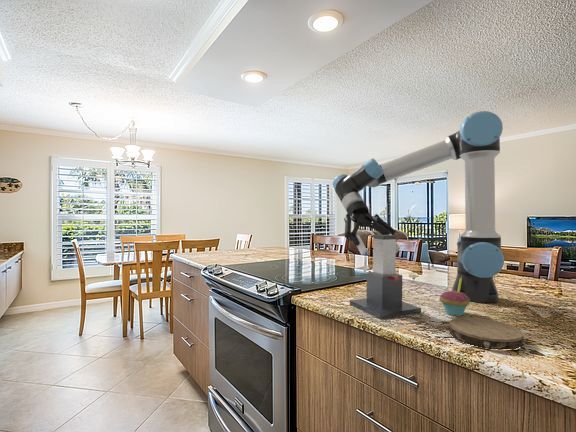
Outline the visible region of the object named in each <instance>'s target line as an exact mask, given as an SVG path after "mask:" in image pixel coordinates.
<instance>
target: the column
mask: <svg viewBox="0 0 576 432" xmlns="http://www.w3.org/2000/svg"><path fill="white" fill-rule="evenodd" d="M372 237H373V241H372V243H373V245H372V247H373V250H372V251H373V252H372V253H373V254H372V257H373V259H372V264H373V265H372V272H373V273H374V274H378V275H381V276H388V275H395V273H396V274H397V272H396V269H397V268H396V266H397V265H396V262H397V260H396V257H397V256H396V255H397V253H396V241H397V239H396V238H397V237H396V234H394V235H382V234H373V235H372Z"/></svg>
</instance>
